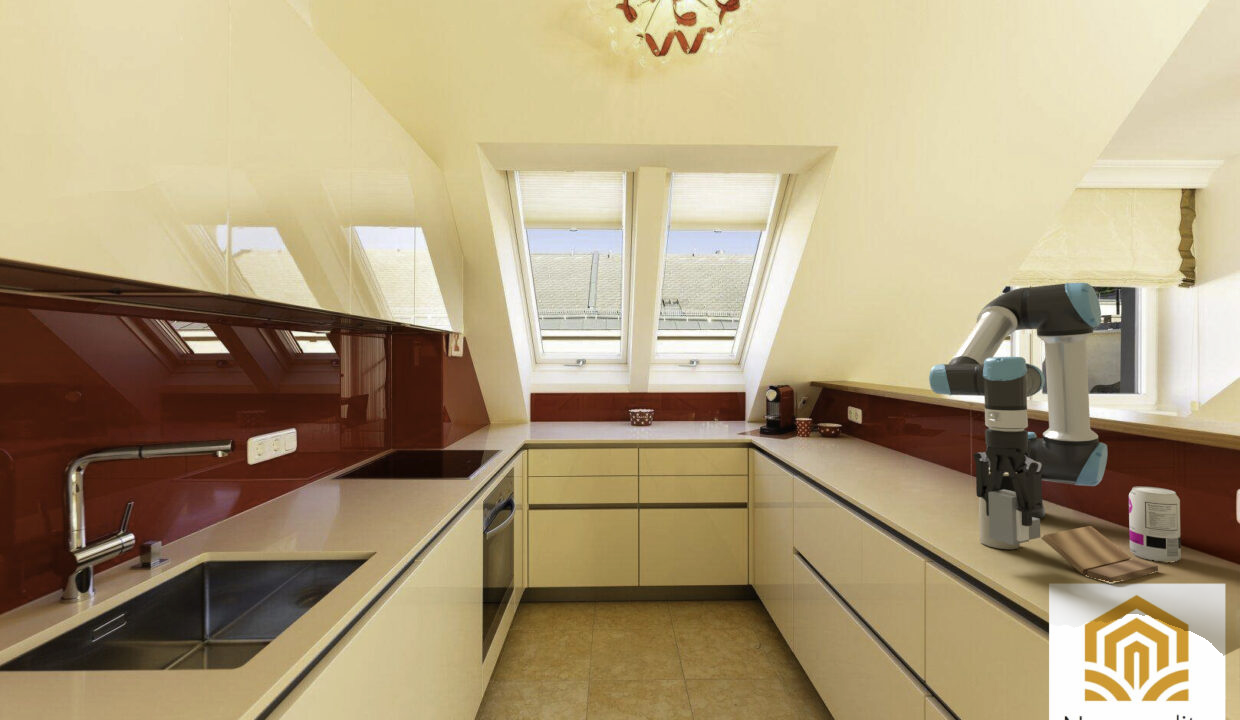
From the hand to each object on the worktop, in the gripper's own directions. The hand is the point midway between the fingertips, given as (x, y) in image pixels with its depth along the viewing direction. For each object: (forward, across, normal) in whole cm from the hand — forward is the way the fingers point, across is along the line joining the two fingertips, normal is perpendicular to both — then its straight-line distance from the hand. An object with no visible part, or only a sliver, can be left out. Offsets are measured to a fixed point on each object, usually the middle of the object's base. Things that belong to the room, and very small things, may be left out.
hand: (1008, 535), depth 118 cm
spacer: (+1, 0, +2) cm, 2 cm away
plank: (+5, +4, +17) cm, 19 cm away
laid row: (+7, +11, +17) cm, 22 cm away
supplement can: (+8, +8, +35) cm, 37 cm away
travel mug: (+8, -11, +12) cm, 18 cm away
